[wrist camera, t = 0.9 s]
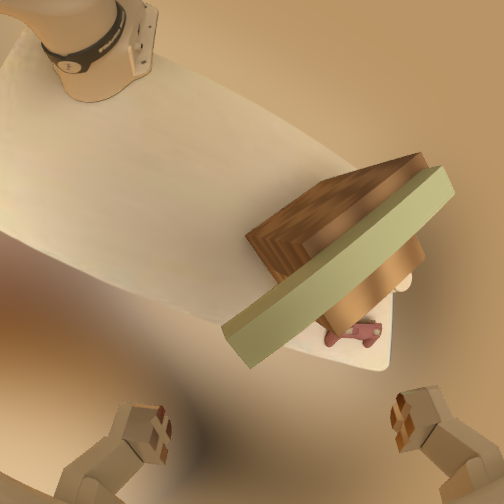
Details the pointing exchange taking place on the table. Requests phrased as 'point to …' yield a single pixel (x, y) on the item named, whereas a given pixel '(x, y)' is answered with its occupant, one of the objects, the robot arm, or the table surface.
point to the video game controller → (358, 334)
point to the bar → (337, 268)
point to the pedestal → (340, 234)
